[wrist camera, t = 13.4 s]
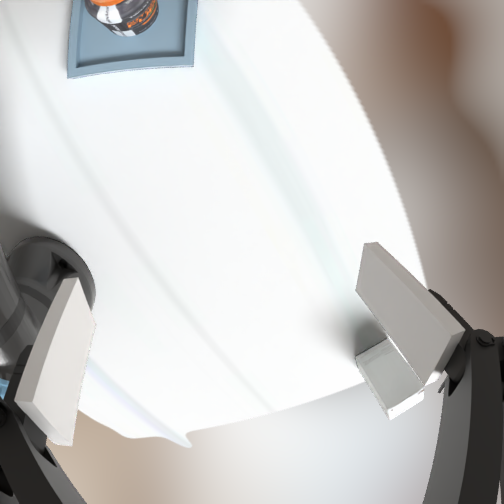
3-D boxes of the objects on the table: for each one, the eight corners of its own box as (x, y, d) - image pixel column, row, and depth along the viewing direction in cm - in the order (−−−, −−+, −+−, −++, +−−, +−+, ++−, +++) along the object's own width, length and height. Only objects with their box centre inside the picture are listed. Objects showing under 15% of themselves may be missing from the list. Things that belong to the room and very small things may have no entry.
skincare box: (358, 369, 61) (387, 422, 48) (354, 354, 58) (385, 411, 45) (391, 351, 60) (424, 401, 48) (389, 335, 57) (425, 388, 45)
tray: (73, 78, 26) (67, 78, 25) (83, -25, 20) (78, -30, 18) (193, 66, 29) (193, 65, 27) (201, -38, 22) (202, -44, 21)
